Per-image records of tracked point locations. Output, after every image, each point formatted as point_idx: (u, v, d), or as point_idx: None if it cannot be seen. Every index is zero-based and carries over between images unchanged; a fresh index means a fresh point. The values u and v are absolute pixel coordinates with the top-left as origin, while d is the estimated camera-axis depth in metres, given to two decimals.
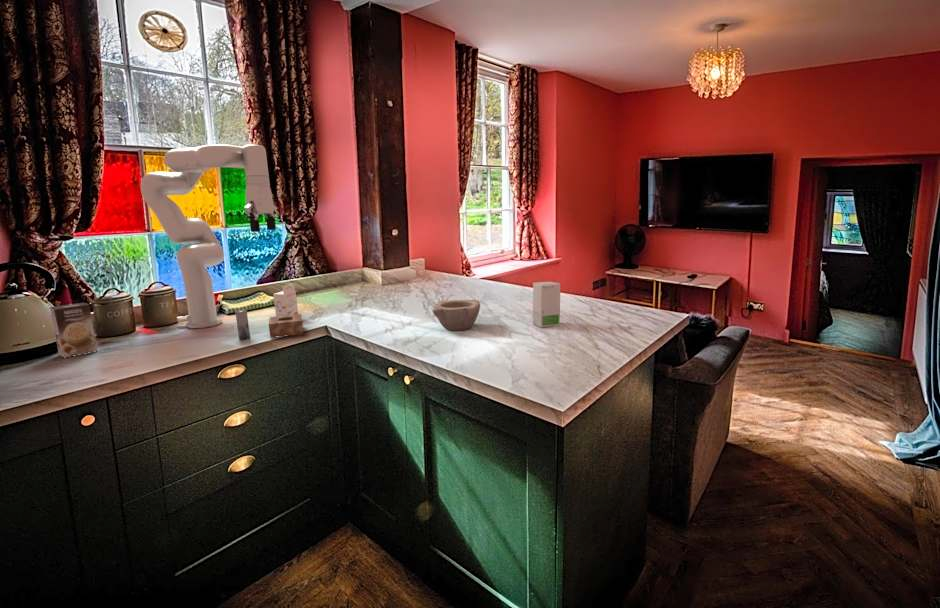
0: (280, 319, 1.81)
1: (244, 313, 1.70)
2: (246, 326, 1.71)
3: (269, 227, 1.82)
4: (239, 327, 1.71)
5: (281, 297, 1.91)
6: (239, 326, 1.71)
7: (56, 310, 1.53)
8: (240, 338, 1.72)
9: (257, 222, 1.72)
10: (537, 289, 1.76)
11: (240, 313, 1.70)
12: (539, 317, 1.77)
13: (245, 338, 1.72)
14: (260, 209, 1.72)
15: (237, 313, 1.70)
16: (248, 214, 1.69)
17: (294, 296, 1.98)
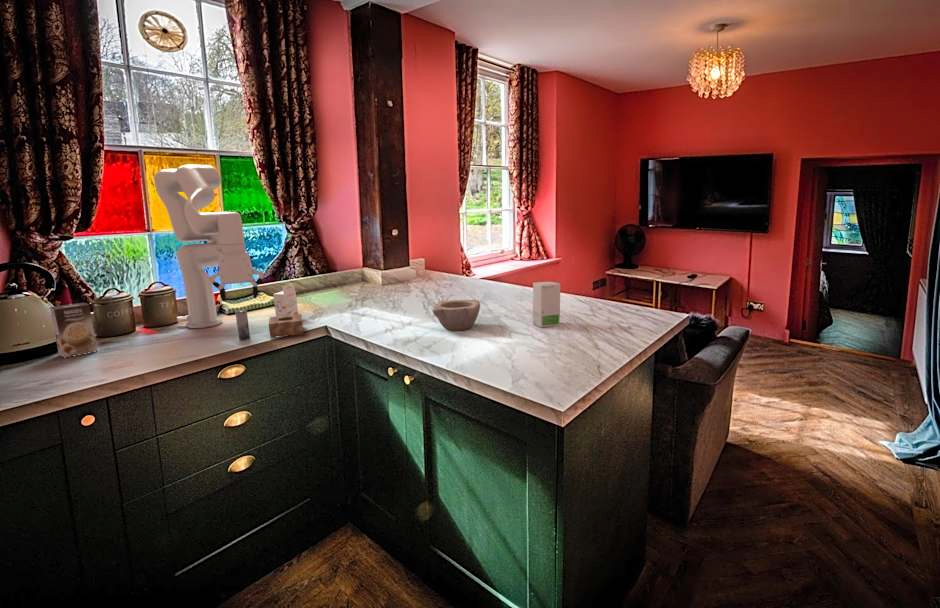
0: (280, 319, 1.81)
1: (244, 313, 1.70)
2: (246, 326, 1.71)
3: (225, 298, 1.68)
4: (239, 327, 1.71)
5: (281, 297, 1.91)
6: (239, 326, 1.71)
7: (56, 310, 1.53)
8: (240, 338, 1.72)
9: None
10: (537, 289, 1.77)
11: (240, 313, 1.70)
12: (539, 317, 1.77)
13: (245, 338, 1.72)
14: None
15: (237, 313, 1.70)
16: None
17: (294, 296, 1.98)
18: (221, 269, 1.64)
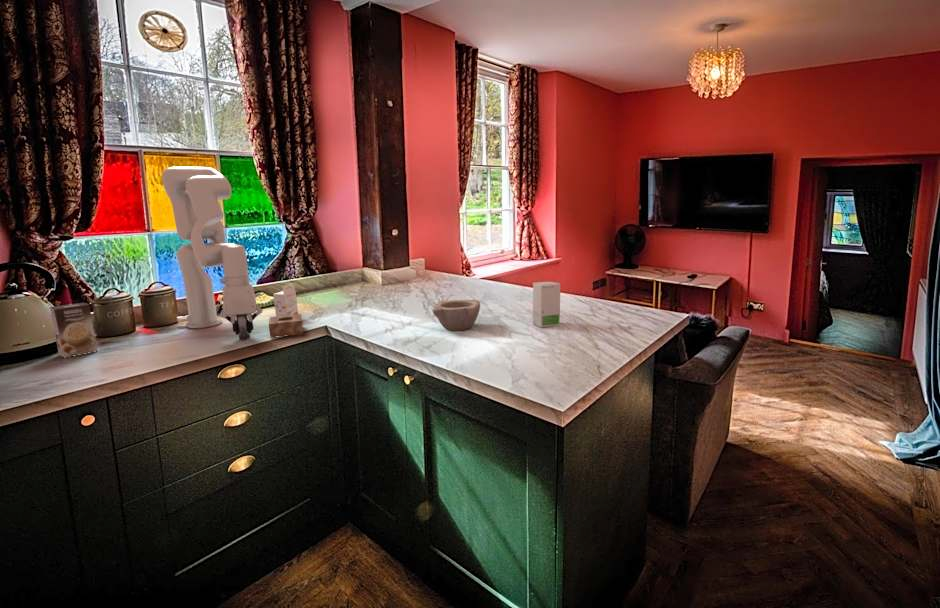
0: (280, 319, 1.81)
1: None
2: (246, 326, 1.71)
3: None
4: (239, 327, 1.71)
5: (281, 297, 1.91)
6: (239, 326, 1.71)
7: (56, 310, 1.53)
8: (240, 338, 1.72)
9: None
10: (537, 289, 1.77)
11: None
12: (539, 317, 1.77)
13: (245, 338, 1.72)
14: None
15: None
16: None
17: (294, 296, 1.98)
18: (225, 301, 1.66)
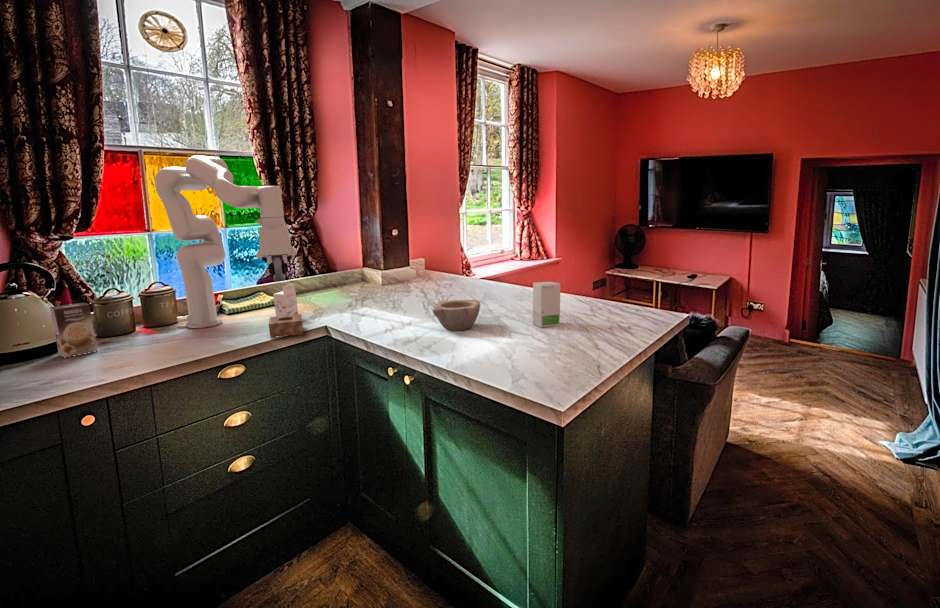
0: (280, 319, 1.81)
1: None
2: (281, 267, 1.74)
3: None
4: (275, 268, 1.73)
5: (281, 297, 1.91)
6: (274, 267, 1.73)
7: (56, 310, 1.53)
8: (275, 279, 1.74)
9: None
10: (537, 289, 1.77)
11: None
12: (539, 317, 1.77)
13: (280, 279, 1.74)
14: None
15: None
16: (291, 257, 1.76)
17: (294, 296, 1.98)
18: (261, 241, 1.69)
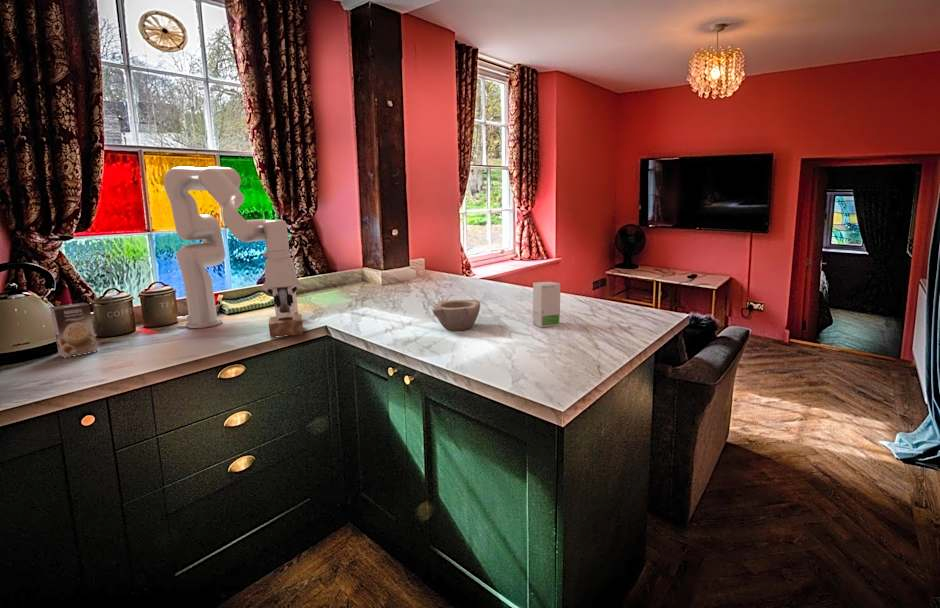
0: (280, 319, 1.81)
1: None
2: (287, 299, 1.77)
3: (278, 304, 1.77)
4: (280, 300, 1.76)
5: None
6: (280, 299, 1.76)
7: (56, 310, 1.53)
8: (281, 311, 1.77)
9: None
10: (537, 289, 1.77)
11: None
12: (539, 317, 1.77)
13: (286, 311, 1.77)
14: None
15: None
16: None
17: (294, 296, 1.98)
18: (267, 274, 1.72)
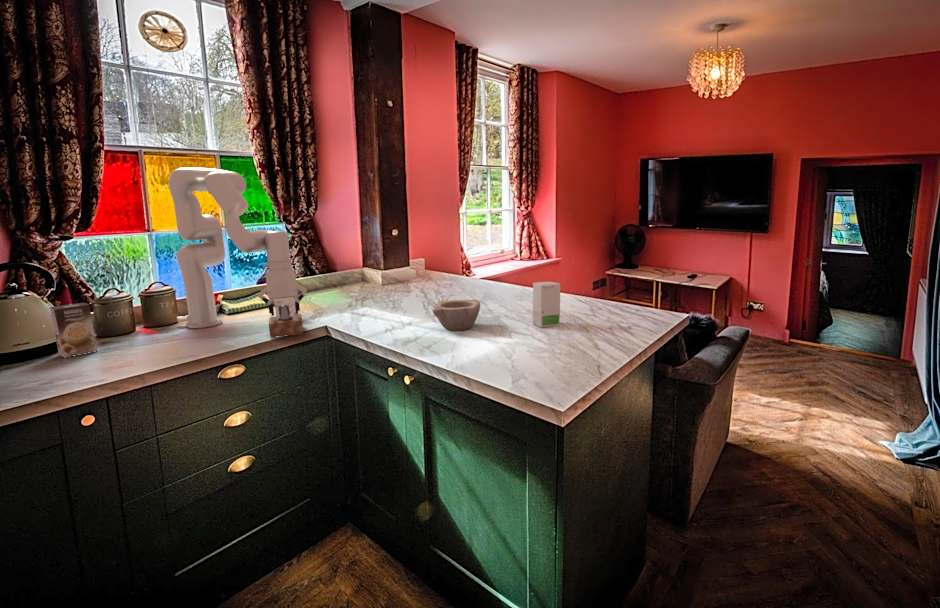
0: None
1: (287, 307, 1.77)
2: None
3: (273, 313, 1.77)
4: None
5: None
6: (282, 320, 1.78)
7: (56, 310, 1.53)
8: None
9: None
10: (537, 289, 1.77)
11: (283, 307, 1.77)
12: (539, 317, 1.77)
13: None
14: None
15: (280, 307, 1.77)
16: None
17: None
18: (269, 285, 1.73)
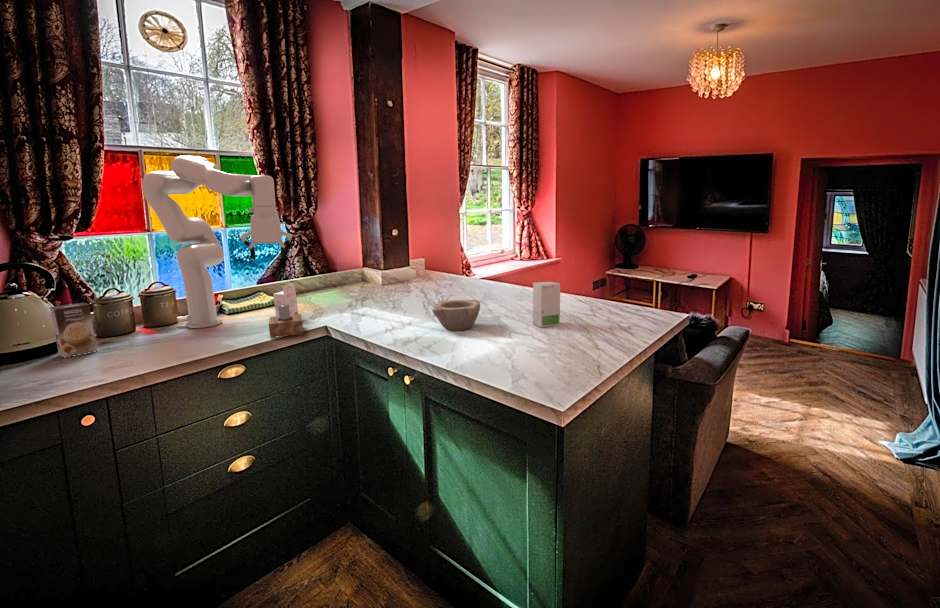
0: None
1: (287, 307, 1.77)
2: None
3: (255, 257, 1.78)
4: None
5: (281, 297, 1.91)
6: (282, 320, 1.78)
7: (56, 310, 1.53)
8: None
9: None
10: (537, 289, 1.77)
11: (283, 307, 1.77)
12: (539, 317, 1.77)
13: None
14: None
15: (280, 307, 1.77)
16: (289, 241, 1.81)
17: (294, 296, 1.98)
18: (253, 229, 1.74)
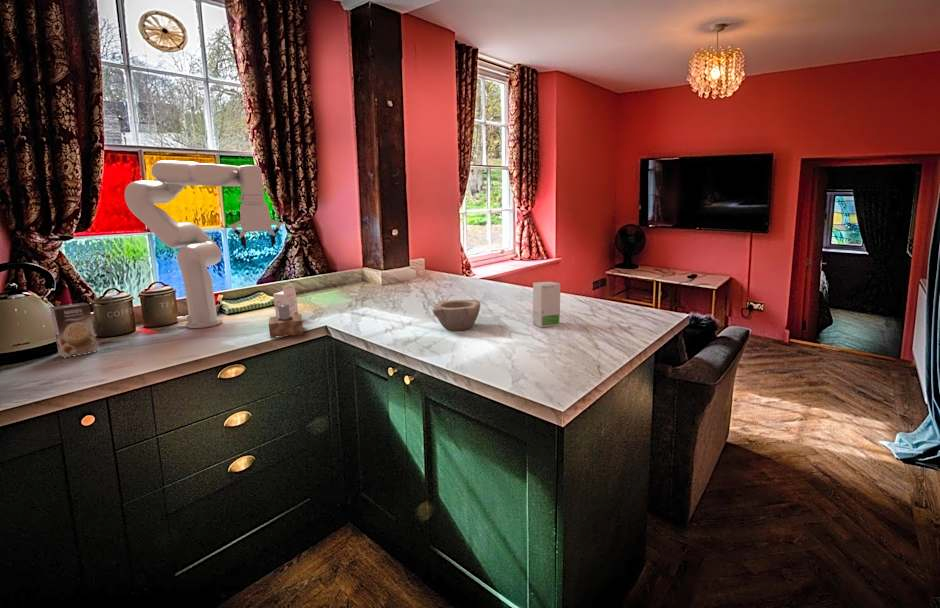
0: None
1: (287, 307, 1.77)
2: None
3: (245, 245, 1.83)
4: None
5: (281, 297, 1.91)
6: (282, 320, 1.78)
7: (56, 310, 1.53)
8: None
9: None
10: (537, 289, 1.77)
11: (283, 307, 1.77)
12: (539, 317, 1.77)
13: None
14: None
15: (280, 307, 1.77)
16: None
17: (294, 296, 1.98)
18: (242, 217, 1.79)
